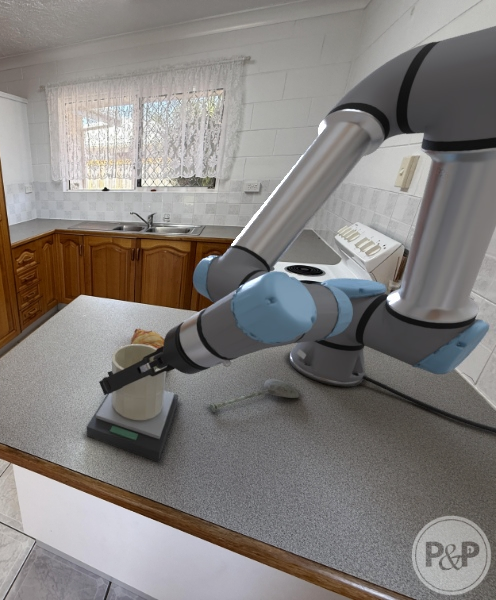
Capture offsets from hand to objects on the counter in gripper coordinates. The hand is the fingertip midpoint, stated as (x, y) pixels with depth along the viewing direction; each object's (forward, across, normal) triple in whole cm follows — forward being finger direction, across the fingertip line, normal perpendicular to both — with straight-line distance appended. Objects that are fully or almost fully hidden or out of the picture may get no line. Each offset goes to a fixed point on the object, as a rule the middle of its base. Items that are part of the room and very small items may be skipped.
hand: (131, 375), depth 63 cm
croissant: (+15, +16, +3) cm, 23 cm away
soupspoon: (-3, +24, -15) cm, 29 cm away
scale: (+4, -1, -8) cm, 9 cm away
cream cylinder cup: (+2, 0, -6) cm, 6 cm away
